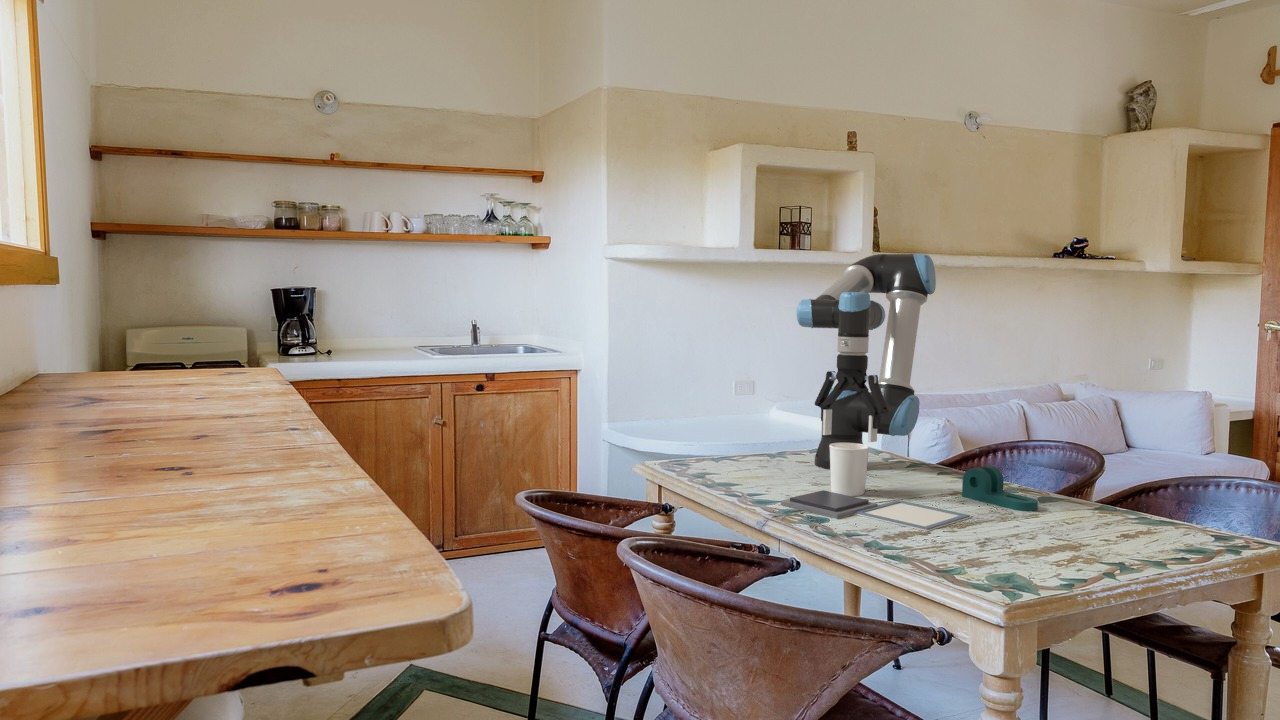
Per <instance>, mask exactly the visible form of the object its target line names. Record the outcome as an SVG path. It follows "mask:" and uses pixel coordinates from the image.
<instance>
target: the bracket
mask: <svg viewBox="0 0 1280 720" xmlns="http://www.w3.org/2000/svg"><path fill="white" fill-rule="evenodd" d="M961 487H962V489H961V497H962V498H966V499H969V500H972V501H977V502H982V503H986V504H990V505H994V506H997V507H1001V508H1006V509H1010V510H1013V511H1019V512H1036V511H1038V506H1039V500H1038V499H1036V498H1033V497H1029V496H1024V495H1020V494H1015V493H1012V492H1008V491H1004V477H1003V474H1002V472H1001V471H1000V470H999V469H998V467H996V466H995V467H994V466H991V465H989V466H983V467H973V468H969V469H967V470H966V471H965V472H964V473H963V476H962V486H961Z"/></svg>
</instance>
